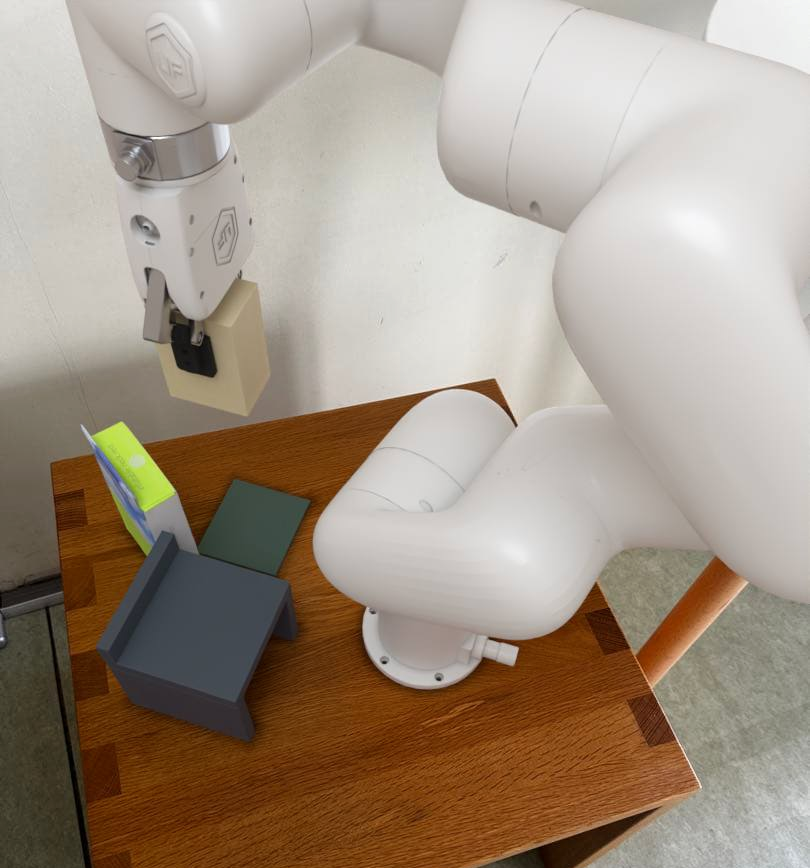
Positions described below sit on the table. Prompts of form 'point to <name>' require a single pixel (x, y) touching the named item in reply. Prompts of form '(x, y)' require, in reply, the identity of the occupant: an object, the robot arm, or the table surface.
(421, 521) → the robot arm
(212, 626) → the shelf
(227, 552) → the mat
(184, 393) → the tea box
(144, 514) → the box
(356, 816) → the table surface
